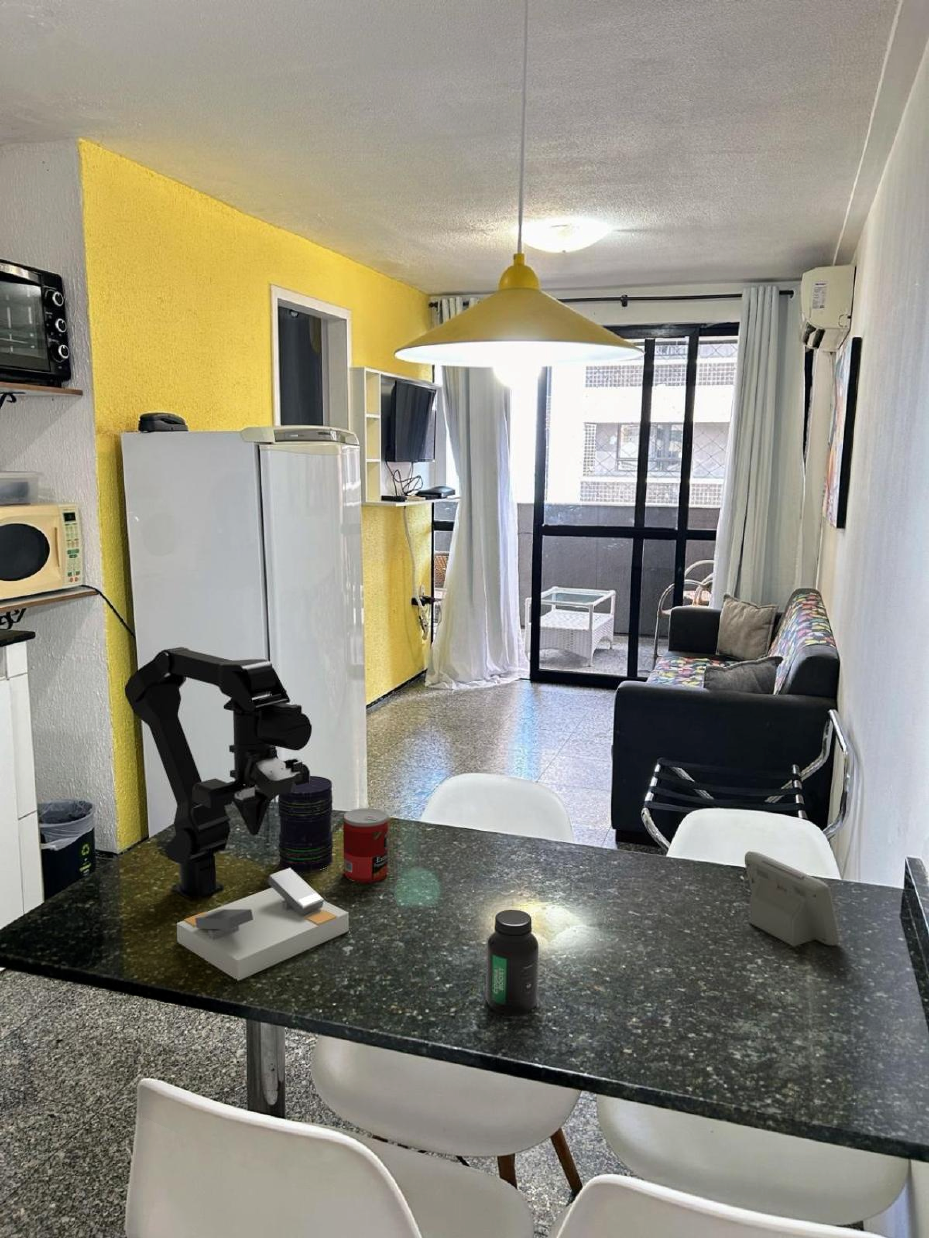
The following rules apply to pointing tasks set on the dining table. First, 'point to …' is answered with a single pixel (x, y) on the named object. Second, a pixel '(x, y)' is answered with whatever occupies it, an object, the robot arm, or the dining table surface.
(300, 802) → the storage jar
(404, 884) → the dining table surface
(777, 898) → the digital clock
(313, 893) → the rocker
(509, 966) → the supplement bottle
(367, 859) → the canned food
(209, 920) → the block
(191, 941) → the switch base
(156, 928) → the dining table surface
